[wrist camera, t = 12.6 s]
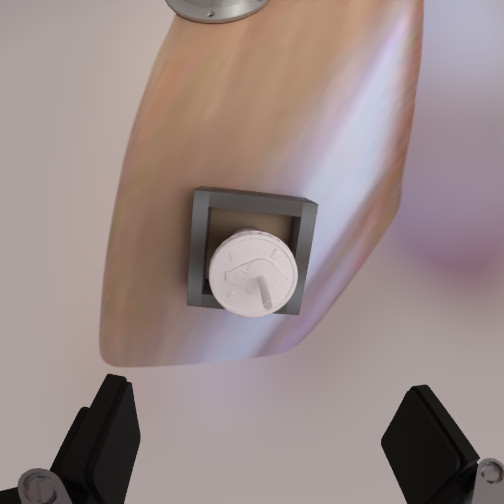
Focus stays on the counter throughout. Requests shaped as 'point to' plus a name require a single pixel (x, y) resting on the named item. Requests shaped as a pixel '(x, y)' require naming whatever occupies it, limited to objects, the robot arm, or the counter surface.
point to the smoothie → (252, 273)
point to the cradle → (247, 214)
